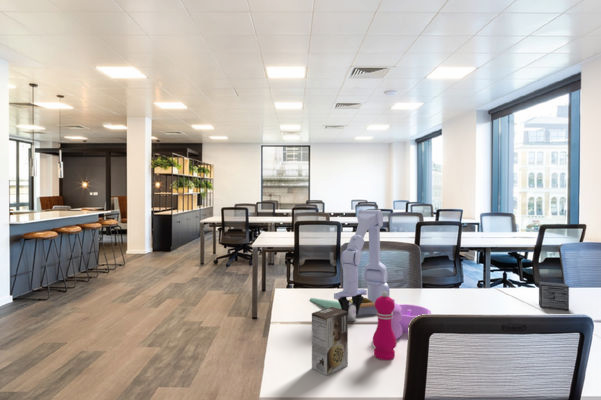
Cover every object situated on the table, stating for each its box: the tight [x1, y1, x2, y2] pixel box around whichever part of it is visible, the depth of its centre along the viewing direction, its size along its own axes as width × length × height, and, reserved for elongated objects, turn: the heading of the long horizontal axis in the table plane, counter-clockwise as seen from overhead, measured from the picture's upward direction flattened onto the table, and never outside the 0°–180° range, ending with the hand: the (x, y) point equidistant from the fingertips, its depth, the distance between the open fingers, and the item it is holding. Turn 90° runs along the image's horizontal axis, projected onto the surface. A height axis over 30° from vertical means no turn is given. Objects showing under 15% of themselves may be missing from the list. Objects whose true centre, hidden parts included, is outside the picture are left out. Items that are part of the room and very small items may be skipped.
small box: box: [538, 281, 570, 311], centre depth 168 cm, size 11×6×10 cm, turn 65°
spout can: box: [347, 302, 357, 322], centre depth 151 cm, size 4×4×8 cm
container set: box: [391, 298, 432, 340], centre depth 140 cm, size 25×15×13 cm, turn 138°
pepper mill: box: [372, 291, 397, 361], centre depth 118 cm, size 7×7×20 cm
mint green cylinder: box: [309, 297, 342, 310], centre depth 168 cm, size 5×6×27 cm
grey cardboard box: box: [311, 307, 349, 376], centre depth 110 cm, size 9×6×16 cm
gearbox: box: [348, 297, 377, 318], centre depth 161 cm, size 12×10×5 cm
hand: (350, 314), depth 151 cm, fingers closed on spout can, 4 cm apart
